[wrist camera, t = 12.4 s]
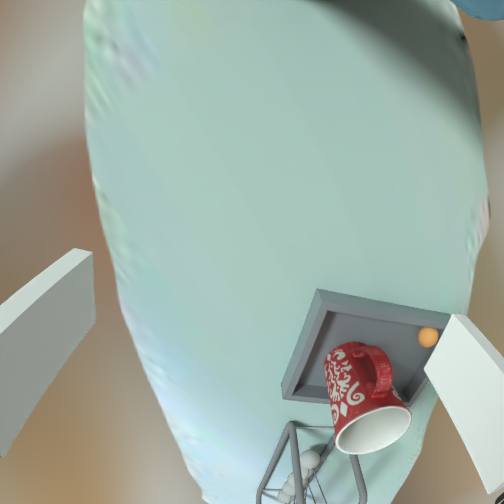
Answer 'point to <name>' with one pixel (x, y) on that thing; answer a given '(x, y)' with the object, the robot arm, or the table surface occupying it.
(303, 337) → the tray
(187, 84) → the table surface
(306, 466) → the newton's cradle
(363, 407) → the mug
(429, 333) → the ball
